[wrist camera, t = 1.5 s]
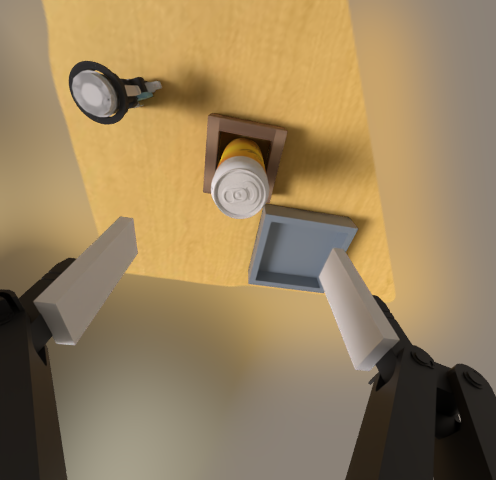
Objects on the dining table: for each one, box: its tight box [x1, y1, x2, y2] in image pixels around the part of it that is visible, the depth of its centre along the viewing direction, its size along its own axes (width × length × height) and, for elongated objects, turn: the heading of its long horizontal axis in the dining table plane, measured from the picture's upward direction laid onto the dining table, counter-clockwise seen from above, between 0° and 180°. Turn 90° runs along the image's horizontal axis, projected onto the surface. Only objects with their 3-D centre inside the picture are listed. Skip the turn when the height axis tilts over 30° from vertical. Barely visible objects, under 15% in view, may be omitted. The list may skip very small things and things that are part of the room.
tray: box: [248, 204, 358, 293], centre depth 42 cm, size 16×16×4 cm
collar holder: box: [203, 113, 287, 203], centre depth 33 cm, size 10×10×4 cm
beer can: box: [211, 138, 269, 219], centre depth 28 cm, size 6×6×15 cm
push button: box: [69, 61, 162, 124], centre depth 25 cm, size 7×5×10 cm
